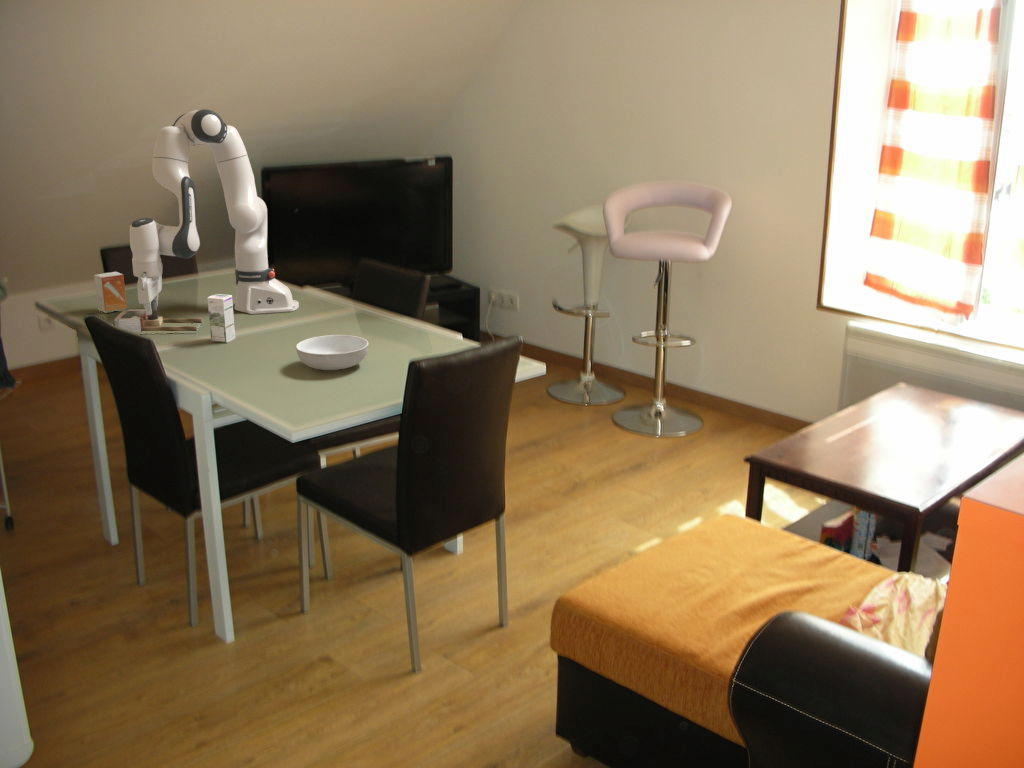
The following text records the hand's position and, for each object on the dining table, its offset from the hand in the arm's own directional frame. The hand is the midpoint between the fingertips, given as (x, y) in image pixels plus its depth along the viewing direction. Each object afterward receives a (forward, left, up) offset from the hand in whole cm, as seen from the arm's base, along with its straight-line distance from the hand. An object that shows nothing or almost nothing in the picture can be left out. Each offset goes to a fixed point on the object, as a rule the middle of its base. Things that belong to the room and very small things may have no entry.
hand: (152, 311), depth 343 cm
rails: (-6, 0, -6) cm, 8 cm away
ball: (+6, 0, -4) cm, 7 cm away
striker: (0, 0, -6) cm, 6 cm away
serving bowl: (-61, +47, -6) cm, 77 cm away
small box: (+19, -26, -6) cm, 33 cm away
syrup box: (-25, +16, -6) cm, 30 cm away
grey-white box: (+7, 0, -6) cm, 9 cm away
